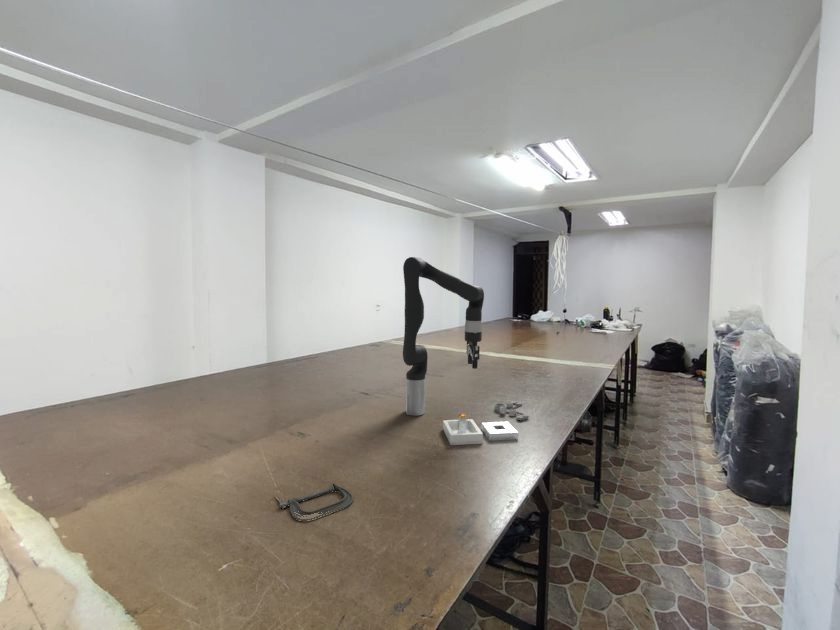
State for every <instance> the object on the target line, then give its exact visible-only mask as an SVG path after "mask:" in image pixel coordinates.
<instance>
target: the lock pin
mask: <svg viewBox="0 0 840 630" xmlns="http://www.w3.org/2000/svg"><path fill="white" fill-rule="evenodd" d="M467 417H468V416H467V414H466V413H457V420H458V433H466V426H467Z"/></svg>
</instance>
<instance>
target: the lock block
mask: <svg viewBox="0 0 840 630" xmlns="http://www.w3.org/2000/svg"><path fill="white" fill-rule="evenodd" d="M480 426H481V427H480V430H481V432H482V433H483V435H485V436H486V438H487V440H488V441H490V442H493V441H494V442H495V441H511V440H512V441H513V440H515V439H516V440H519V432H518V430H517V429H516V428H515V427H514V426H513V425H512V424H511V423H510V422H509V421H489V422H481V423H480Z"/></svg>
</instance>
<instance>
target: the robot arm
mask: <svg viewBox="0 0 840 630" xmlns="http://www.w3.org/2000/svg"><path fill="white" fill-rule="evenodd" d="M402 268H403V269H402V270H403V272H402V273H403V280H404V281H403V282H404V333H403V334H404V336H403V337H404V338H403V347H402V359H403V362H404V364H405V365H406V366H409V367H410V366H412V367H411V368H410V369H409V370H407V372H406V374H405V375H406V376H405V377H406V378H405V381H406V385H405V413H406V415H407V416H416V417H417V416H421V415H422V416H423V415H424V414H426V374H427V371H428V351H427V348H426V347H425V346H424V345H422V344H416V343H417V336H418V333H419V331H420V329H421V327H422V325H423V322H424V318H425V305H424V304H425V303H424V300H423V297H422V294H421V291H420V278H423V279H427V280H430V281H432V282H434V283H435V284H437V285H438V286H439V287H441V288H443V289H445V290H446V291H449V292H451V293H453V294H455V295H458V297H461V298H462V299H463V300H465V301H467V302H468V306H467V307H466V309H465V322H464V341H465V342H466V352H465V353H466V355H467V364H468V365H471V367H472V369H478V363H479V362H478V361H480V348H481V347H480V346H479V345H478V343H479V342H480V343H481V342H482V341H483V339H482V336H483V333H482V332H483V324H482V317H483V316H482V313H483V312H482V310H483V305H484V299H485V293H484V292H485V291H484V289H483V288H482V287H481V286H480V285H473V284H469V283H467V282H465V281H464V280H463V279H461V278H459V277H458V276H455V275H452V274H450V273H448V272H445V271H443V270H441V269H439V268H437V267H435V266H433V265H432V264H431V263H429V262H427V261H426V260H425V259H423V258H421V257H415V256H410V257H408V258H406V259H405V260H404V262H403V267H402Z"/></svg>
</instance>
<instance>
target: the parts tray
mask: <svg viewBox="0 0 840 630" xmlns="http://www.w3.org/2000/svg"><path fill="white" fill-rule="evenodd" d="M442 430H443V432H444V434H445V436H446V439H447V440H448V442H449V444H450V446H458V445H460V446H461V445H479V444H480V445H481V444H484V441H483V440H484V432H483V431H482V430H481V428H480V427H479V426H478V425H477V424H476V422H475V420H474V419H473V418H470V419H469V418H468V419H467V426H466V433H458V419H447V420H444V419H443V420H442Z"/></svg>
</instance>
